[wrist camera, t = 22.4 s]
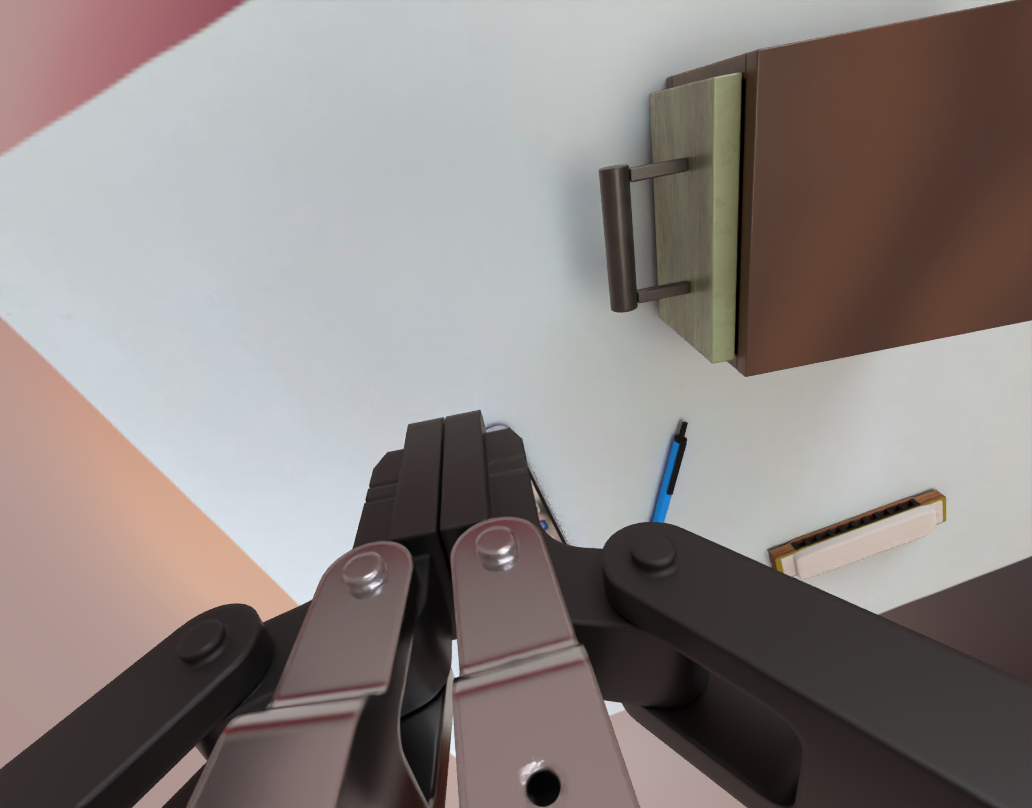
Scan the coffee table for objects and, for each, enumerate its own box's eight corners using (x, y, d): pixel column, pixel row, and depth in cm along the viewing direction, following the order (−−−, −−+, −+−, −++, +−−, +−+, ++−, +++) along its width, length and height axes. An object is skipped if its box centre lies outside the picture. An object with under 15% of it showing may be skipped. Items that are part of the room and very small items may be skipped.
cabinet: (673, 318, 35) (745, 377, 26) (665, 78, 28) (757, 49, 20) (904, 272, 35) (1053, 316, 26) (948, 23, 28) (1164, -30, 20)
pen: (688, 420, 38) (694, 427, 37) (637, 607, 47) (640, 617, 46) (676, 419, 38) (682, 427, 37) (627, 607, 46) (631, 617, 45)
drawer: (595, 330, 33) (631, 380, 26) (571, 108, 28) (610, 96, 21) (879, 274, 34) (990, 309, 27) (915, 42, 28) (1069, 8, 21)
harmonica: (772, 572, 46) (785, 589, 45) (767, 548, 45) (779, 565, 43) (935, 513, 45) (954, 528, 43) (934, 487, 44) (954, 502, 42)
